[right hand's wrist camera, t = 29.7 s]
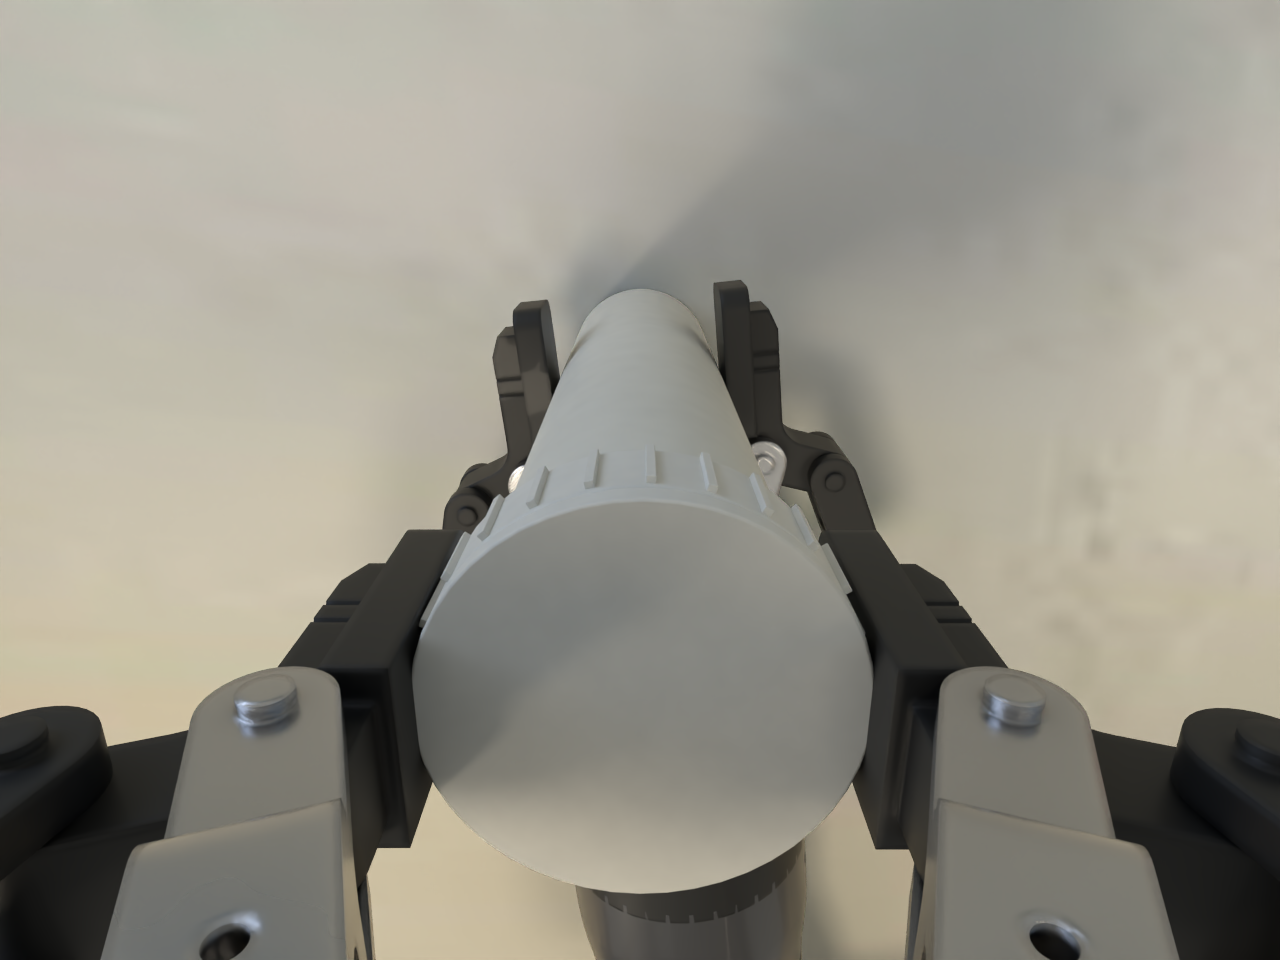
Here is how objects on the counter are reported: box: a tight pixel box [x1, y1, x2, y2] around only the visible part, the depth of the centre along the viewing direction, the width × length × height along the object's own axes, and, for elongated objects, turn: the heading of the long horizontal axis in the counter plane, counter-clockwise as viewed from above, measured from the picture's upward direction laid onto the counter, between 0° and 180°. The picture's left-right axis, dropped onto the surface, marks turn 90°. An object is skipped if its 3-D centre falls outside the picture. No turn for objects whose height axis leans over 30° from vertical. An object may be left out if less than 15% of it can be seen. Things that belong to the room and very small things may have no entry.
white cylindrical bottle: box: [515, 289, 769, 490], centre depth 19 cm, size 4×4×19 cm
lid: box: [412, 444, 874, 894], centre depth 10 cm, size 5×5×2 cm
